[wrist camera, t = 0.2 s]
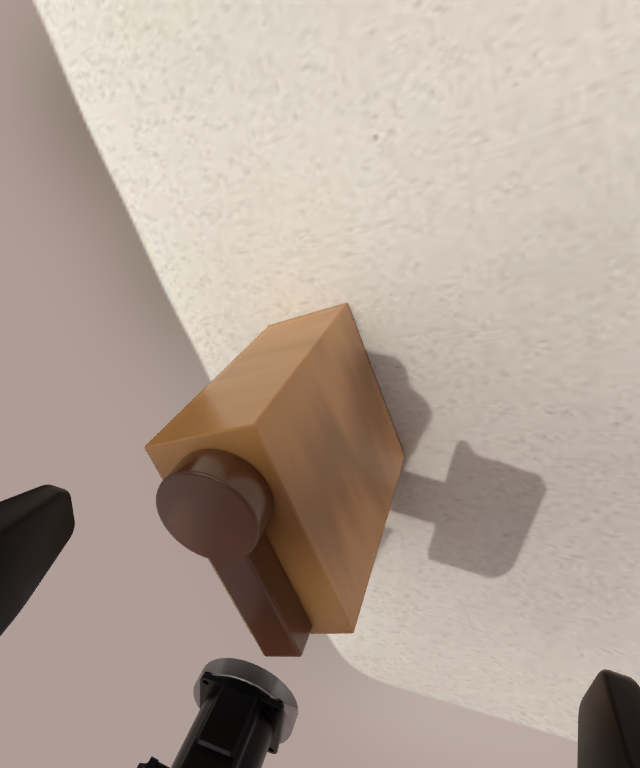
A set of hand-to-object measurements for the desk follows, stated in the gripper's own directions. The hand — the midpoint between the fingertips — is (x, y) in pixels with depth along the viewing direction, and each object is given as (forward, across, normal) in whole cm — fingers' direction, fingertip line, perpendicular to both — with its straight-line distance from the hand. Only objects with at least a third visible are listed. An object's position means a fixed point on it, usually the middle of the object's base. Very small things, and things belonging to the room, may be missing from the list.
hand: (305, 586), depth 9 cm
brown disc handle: (+5, +3, +6) cm, 8 cm away
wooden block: (+15, +3, +6) cm, 17 cm away
